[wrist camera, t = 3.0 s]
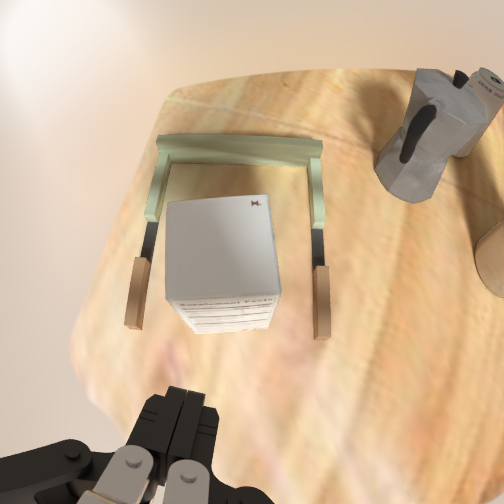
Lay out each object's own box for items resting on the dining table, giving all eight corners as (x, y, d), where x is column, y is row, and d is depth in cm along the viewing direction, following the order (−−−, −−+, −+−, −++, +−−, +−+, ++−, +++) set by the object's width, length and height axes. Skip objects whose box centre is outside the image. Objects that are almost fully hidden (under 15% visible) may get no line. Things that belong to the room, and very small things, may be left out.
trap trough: (164, 156, 40) (158, 135, 36) (316, 161, 40) (322, 140, 36) (130, 328, 30) (116, 319, 27) (325, 340, 31) (336, 332, 27)
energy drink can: (432, 128, 44) (469, 59, 30) (460, 136, 44) (499, 73, 30) (442, 156, 42) (486, 85, 28) (471, 163, 42) (517, 99, 28)
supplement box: (191, 265, 34) (165, 197, 22) (262, 261, 34) (271, 190, 22) (193, 336, 30) (161, 300, 19) (269, 331, 31) (284, 292, 19)
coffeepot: (401, 135, 43) (446, 40, 26) (449, 177, 40) (510, 88, 24) (340, 184, 38) (385, 63, 22) (397, 237, 35) (477, 132, 19)
